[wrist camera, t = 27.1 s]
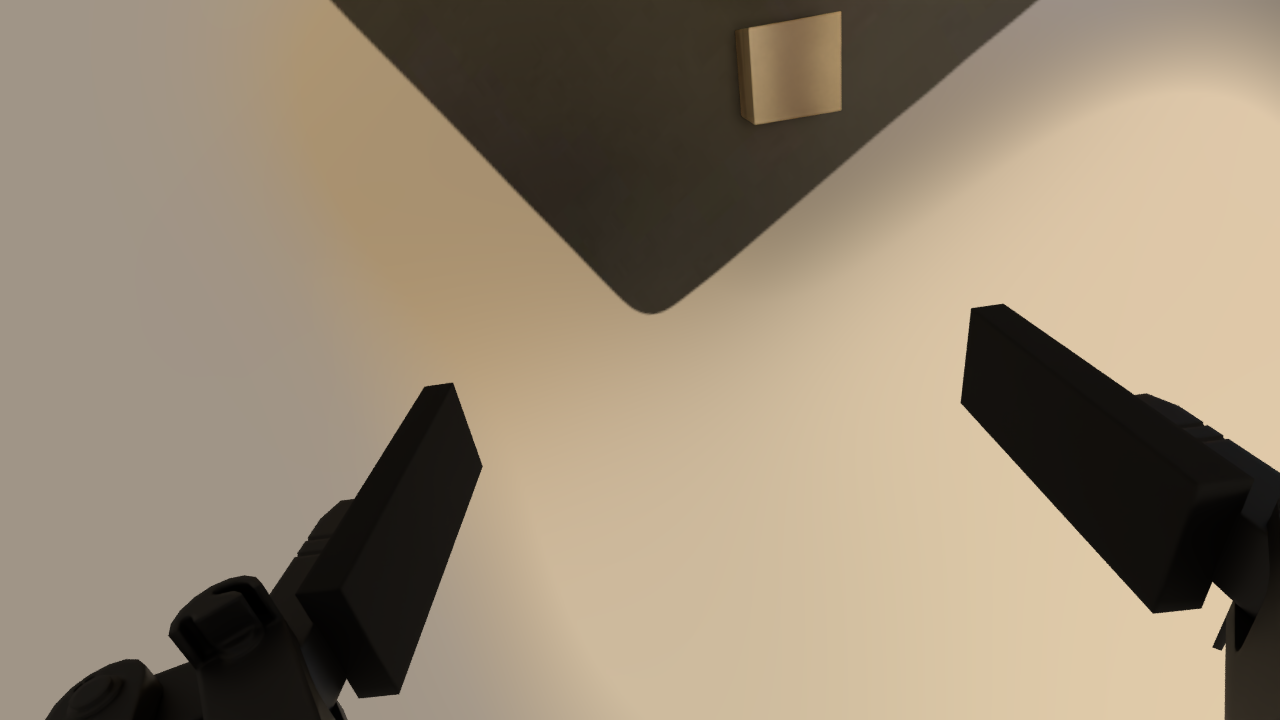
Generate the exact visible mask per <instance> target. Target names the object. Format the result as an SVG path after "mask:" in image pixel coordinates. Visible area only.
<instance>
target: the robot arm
mask: <svg viewBox="0 0 1280 720" xmlns="http://www.w3.org/2000/svg"><path fill="white" fill-rule="evenodd" d="M961 404H962V405H963V406H964V407H965V408H966V409H967V410H968V411H969V413H970V414H971V415H972V416H973V417H974V418H975V419H976V420H977V421H978V422H979V423H980V425H981V426H982V427H983V428H984V429H985V430H986V431H987V432H988V433H989V434H990V436H991V437H992V438H994V440H995V441H996V442H997V443H998V444H999V445H1000V447H1001V448H1002V449H1003V450H1004V451H1005V452H1006V453H1007V454H1008V455H1009V456H1010V457H1011V459H1012V460H1013V461H1014V462H1015V463H1016V464H1017V465H1018V466H1019V467H1020V468H1021V470H1023V472H1024V473H1025V474H1026V475H1027V476H1028V477H1029V478H1030V479H1031V480H1032V481H1033V482H1034V484H1035V485H1036V486H1037V487H1038V488H1039V489H1040V490H1041V491H1042V492H1043V494H1044V495H1045V496H1046V497H1047V498H1048V499H1049V500H1050V501H1051V502H1052V503H1053V505H1054V506H1055V507H1056V508H1057V509H1058V510H1059V511H1060V512H1061V513H1062V514H1063V515H1064V517H1066V519H1067V520H1068V521H1069V522H1070V523H1071V524H1072V525H1073V526H1074V527H1075V529H1076V530H1077V531H1078V532H1079V533H1080V534H1081V535H1082V536H1083V537H1084V538H1085V540H1086V541H1087V542H1088V543H1089V544H1090V545H1091V546H1092V547H1093V548H1094V549H1095V550H1096V552H1097V553H1098V554H1099V555H1100V556H1101V557H1102V558H1103V559H1104V560H1105V561H1106V563H1107V564H1109V566H1110V567H1111V568H1112V569H1113V570H1114V571H1115V572H1116V573H1117V575H1118V576H1119V577H1120V578H1121V579H1122V580H1123V581H1124V582H1125V583H1126V584H1127V586H1128V587H1129V588H1130V589H1131V590H1132V591H1133V592H1134V593H1135V594H1136V595H1137V596H1138V598H1139V599H1140V600H1141V601H1142V602H1143V603H1144V604H1145V605H1146V606H1147V607H1148V609H1149V610H1150V611H1151V612H1152V613H1163V612H1173V611H1182V610H1191V609H1200V608H1202V606H1203V603H1204V601H1205V598H1206V596H1207V593H1208V591H1209V589H1210V586H1211V584H1212V582H1213V583H1214V584H1215V585H1216V586H1218V587H1219V588H1220V589H1221V590H1222V591H1223V592H1224V593H1225V594H1226V595H1227V596H1228V597H1230V598H1231V599H1232V600H1233V602H1232V604H1231V606H1230V609H1229V611H1228V613H1227V616H1226V618H1225V620H1224V622H1223V624H1222V627H1221V629H1220V631H1219V633H1218V636H1217V638H1216V640H1215V643H1214V645H1213V648H1216V649H1218V650H1222V649H1223V647H1224V645H1225V643H1226V661H1225V720H1280V473H1279V472H1278V471H1276V470H1275V469H1273V468H1271V467H1270V466H1269V465H1267V464H1266V463H1264V462H1262V461H1261V460H1260V459H1258V458H1257V457H1255V456H1254V455H1252V454H1251V453H1249V452H1248V451H1246V450H1245V449H1243V448H1241V447H1240V446H1238V445H1237V444H1235V443H1234V442H1232V441H1231V440H1229V439H1224V438H1223V435H1222V434H1220V433H1219V432H1217V431H1216V430H1214V429H1213V428H1211V427H1210V426H1208V425H1207V426H1204V425H1203V422H1202V421H1201V420H1199V419H1198V418H1196V417H1195V416H1193V415H1192V414H1190V413H1189V412H1187V411H1186V410H1184V409H1183V408H1181V407H1179V406H1177V405H1175V404H1172V403H1170V402H1167V401H1164V400H1162V399H1160V398H1157V397H1154V396H1152V395H1149V394H1139V395H1133V394H1132V393H1131V392H1129V391H1128V390H1126V389H1125V388H1124V387H1122V386H1121V385H1119V384H1118V383H1116V382H1115V381H1114V380H1112V379H1111V378H1109V377H1108V376H1106V375H1105V374H1104V373H1102V372H1101V371H1099V370H1097V369H1096V368H1095V367H1093V366H1092V365H1091V364H1089V363H1088V362H1086V361H1085V360H1083V359H1082V358H1081V357H1079V356H1078V355H1076V354H1075V353H1073V352H1072V351H1071V350H1069V349H1068V348H1066V347H1065V346H1063V345H1062V344H1060V343H1059V342H1057V341H1056V340H1055V339H1053V338H1052V337H1050V336H1049V335H1047V334H1046V333H1045V332H1043V331H1042V330H1040V329H1039V328H1037V327H1036V326H1034V325H1033V324H1032V323H1030V322H1029V321H1028V320H1026V319H1025V318H1023V317H1022V316H1020V315H1019V314H1017V313H1016V312H1015V311H1013V310H1011V309H1010V308H1009V307H1007V306H1006V305H1004V304H998V305H991V306H984V307H977V308H971V315H970V323H969V333H968V342H967V351H966V360H965V369H964V378H963V387H962V396H961ZM482 467H483V466H482V463H481V461H480V458H479V455H478V452H477V449H476V446H475V444H474V441H473V438H472V435H471V432H470V429H469V427H468V424H467V421H466V418H465V415H464V412H463V410H462V407H461V404H460V401H459V398H458V396H457V393H456V390H455V387H454V384H453V383H446V384H439V385H432V386H426V387H424V388H423V390H422V392H421V393H420V395H419V397H418V398H417V400H416V401H415V403H414V404H413V406H412V408H411V409H410V411H409V412H408V414H407V416H406V417H405V419H404V421H403V422H402V424H401V425H400V427H399V429H398V430H397V432H396V433H395V435H394V436H393V438H392V440H391V441H390V443H389V445H388V446H387V448H386V449H385V451H384V452H383V454H382V456H381V457H380V459H379V460H378V462H377V464H376V465H375V467H374V468H373V470H372V472H371V473H370V475H369V476H368V478H367V480H366V481H365V483H364V485H363V486H362V488H361V489H360V491H359V492H358V494H357V496H356V497H355V499H350V500H343V501H340V502H339V503H338V504H337V505H335V506H334V507H333V508H332V509H331V510H330V511H329V512H328V513H326V514H325V515H324V516H323V517H322V518H321V519H320V520H319V522H318V523H317V525H316V526H315V528H314V529H313V531H312V532H311V534H310V535H309V537H308V541H306V542H305V543H304V544H303V546H302V547H301V549H300V550H299V552H298V553H297V554H298V557H295V558H294V559H293V561H292V562H291V563H290V565H289V567H288V568H287V570H286V571H285V572H284V574H283V576H282V577H281V579H280V580H279V581H278V583H277V584H276V586H275V587H274V589H273V590H272V592H271V593H270V595H269V594H268V592H267V591H266V589H265V587H264V586H263V585H262V583H261V582H260V581H259V580H258V579H257V578H256V577H252V576H245V575H244V576H240V577H234V578H229V579H227V580H225V581H222V582H220V583H218V584H215V585H213V586H211V587H210V588H208V589H206V590H205V591H203V592H202V593H200V594H199V595H197V596H196V597H194V598H193V599H192V600H191V601H190V602H189V603H188V604H187V605H186V606H185V607H183V608H182V609H181V610H180V612H179V613H178V615H177V616H176V617H175V619H174V620H173V622H172V623H171V626H170V631H169V635H168V636H169V637H170V638H171V639H172V641H173V642H174V643H175V645H176V646H177V647H178V648H179V650H180V651H181V652H182V653H183V654H184V656H185V657H186V658H187V660H188V661H189V662H188V663H185V664H182V665H179V666H177V667H174V668H171V669H169V670H166V671H163V672H161V673H158V674H155V675H153V674H152V673H151V672H150V670H149V669H148V668H147V667H146V666H145V665H144V664H143V663H142V662H141V661H139V660H136V659H135V660H134V659H131V660H130V659H125V660H122V661H119V662H116V663H112V664H109V665H107V666H105V667H103V668H101V669H100V670H98V671H96V672H94V673H92V674H90V675H89V676H87V677H86V678H84V679H83V680H82V681H81V682H79V683H77V684H76V685H75V686H74V687H72V688H71V689H70V690H69V691H68V692H67V693H66V694H65V695H64V696H63V697H62V698H61V699H60V700H59V701H58V702H57V703H56V705H55V706H54V707H53V709H52V710H51V712H50V713H49V715H48V716H47V718H46V719H45V720H347V718H346V715H345V713H344V710H343V708H342V707H341V705H340V704H339V702H338V701H337V698H338V696H339V694H340V692H341V689H342V687H343V685H344V683H345V681H346V679H347V680H348V681H349V683H350V685H351V686H352V688H353V689H354V691H355V693H356V695H357V696H358V698H368V697H377V696H387V695H396V694H399V693H400V690H401V687H402V685H403V682H404V679H405V676H406V674H407V671H408V668H409V665H410V663H411V660H412V657H413V655H414V652H415V649H416V646H417V644H418V641H419V638H420V636H421V633H422V630H423V627H424V625H425V622H426V619H427V617H428V614H429V611H430V608H431V606H432V603H433V600H434V597H435V595H436V592H437V589H438V587H439V584H440V581H441V578H442V576H443V573H444V570H445V567H446V565H447V562H448V559H449V557H450V554H451V551H452V548H453V546H454V543H455V540H456V537H457V535H458V532H459V529H460V527H461V524H462V521H463V518H464V516H465V513H466V510H467V508H468V505H469V502H470V499H471V497H472V494H473V491H474V489H475V486H476V483H477V480H478V478H479V475H480V472H481V469H482Z"/></svg>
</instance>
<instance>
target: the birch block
mask: <svg viewBox="0 0 1280 720" xmlns="http://www.w3.org/2000/svg"><path fill="white" fill-rule="evenodd" d="M735 38H736V51H737V65H738V78H739V92H740V105H741V116H742V117H743V118H745V119H746V120H748V121H750V122H751V123H753V124H754V125H759V124H765V123H771V122H776V121H782V120H788V119H794V118H800V117H806V116H812V115H818V114H824V113H830V112H836V111H841V11H838V12H832V13H827V14H821V15H816V16H810V17H805V18H799V19H794V20H788V21H783V22H777V23H771V24H766V25H760V26H755V27H749V28H744V29H739V30H735Z"/></svg>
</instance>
